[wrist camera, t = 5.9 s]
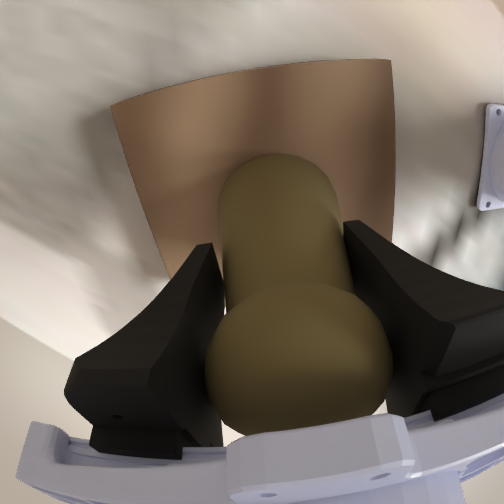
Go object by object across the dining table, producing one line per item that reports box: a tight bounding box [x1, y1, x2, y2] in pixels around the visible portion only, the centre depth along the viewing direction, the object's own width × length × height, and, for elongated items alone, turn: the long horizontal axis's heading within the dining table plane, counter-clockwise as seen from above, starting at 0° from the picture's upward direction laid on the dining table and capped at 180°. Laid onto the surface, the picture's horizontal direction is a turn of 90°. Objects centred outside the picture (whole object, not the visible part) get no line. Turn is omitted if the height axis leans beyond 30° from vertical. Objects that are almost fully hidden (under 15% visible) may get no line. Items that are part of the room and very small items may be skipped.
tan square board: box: [110, 59, 395, 307], centre depth 17 cm, size 13×13×3 cm
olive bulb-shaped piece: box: [205, 154, 393, 436], centre depth 11 cm, size 6×6×11 cm
